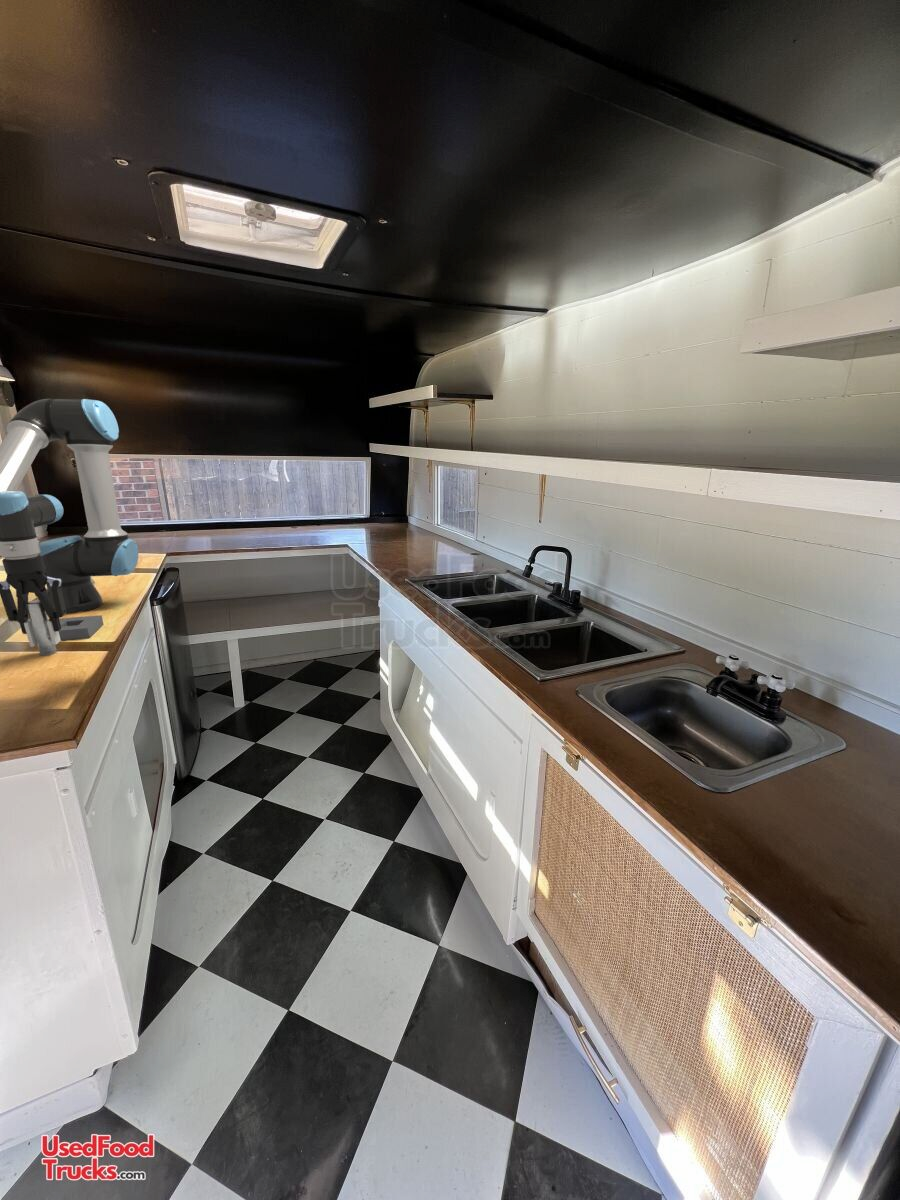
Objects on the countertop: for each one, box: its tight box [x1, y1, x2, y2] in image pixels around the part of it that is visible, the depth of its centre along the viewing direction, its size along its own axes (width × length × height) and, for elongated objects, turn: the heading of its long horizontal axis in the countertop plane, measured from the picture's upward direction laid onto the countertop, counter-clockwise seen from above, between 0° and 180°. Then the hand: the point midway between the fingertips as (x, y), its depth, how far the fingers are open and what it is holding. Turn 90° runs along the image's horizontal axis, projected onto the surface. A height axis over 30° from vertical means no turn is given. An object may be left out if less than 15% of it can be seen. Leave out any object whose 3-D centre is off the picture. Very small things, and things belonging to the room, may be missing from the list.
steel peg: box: [26, 599, 57, 656], centre depth 125 cm, size 3×3×14 cm
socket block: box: [58, 614, 104, 642], centre depth 139 cm, size 11×11×3 cm
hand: (45, 643), depth 126 cm, fingers open, 4 cm apart
